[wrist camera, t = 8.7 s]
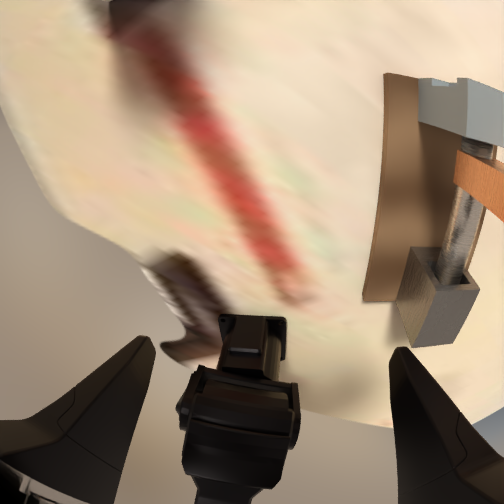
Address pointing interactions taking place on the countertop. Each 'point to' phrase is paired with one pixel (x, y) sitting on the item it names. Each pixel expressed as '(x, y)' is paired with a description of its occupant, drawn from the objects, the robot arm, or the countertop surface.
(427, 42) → the countertop surface
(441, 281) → the sliding bolt with handle
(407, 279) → the outer sleeve
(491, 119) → the socket
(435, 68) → the countertop surface
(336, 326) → the countertop surface
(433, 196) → the base plate
